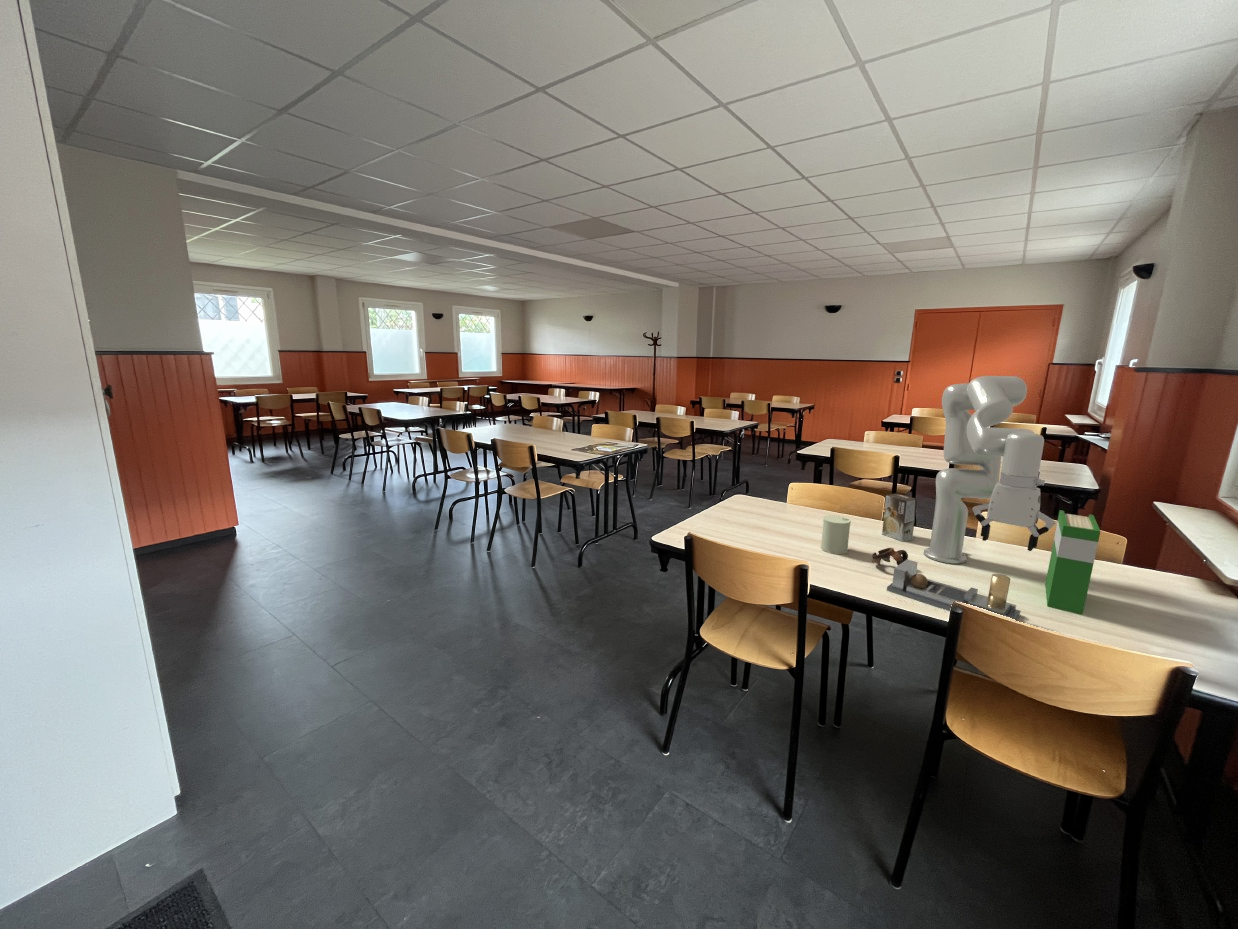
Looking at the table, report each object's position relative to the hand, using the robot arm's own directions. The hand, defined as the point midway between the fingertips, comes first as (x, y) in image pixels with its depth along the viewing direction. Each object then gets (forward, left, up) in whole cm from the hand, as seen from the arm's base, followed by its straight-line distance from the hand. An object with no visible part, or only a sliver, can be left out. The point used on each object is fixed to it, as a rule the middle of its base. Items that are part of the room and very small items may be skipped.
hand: (1007, 544), depth 133 cm
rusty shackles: (-12, -31, -21) cm, 39 cm away
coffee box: (-45, -42, -21) cm, 65 cm away
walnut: (0, -19, -17) cm, 26 cm away
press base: (0, -11, -21) cm, 23 cm away
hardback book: (-27, +10, -21) cm, 36 cm away
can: (-14, -52, -21) cm, 58 cm away
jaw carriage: (0, -2, -19) cm, 19 cm away
